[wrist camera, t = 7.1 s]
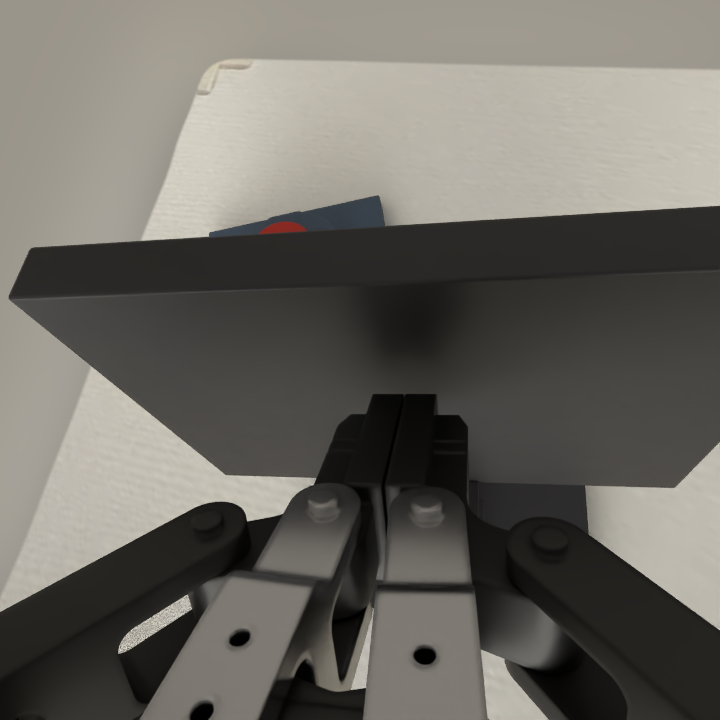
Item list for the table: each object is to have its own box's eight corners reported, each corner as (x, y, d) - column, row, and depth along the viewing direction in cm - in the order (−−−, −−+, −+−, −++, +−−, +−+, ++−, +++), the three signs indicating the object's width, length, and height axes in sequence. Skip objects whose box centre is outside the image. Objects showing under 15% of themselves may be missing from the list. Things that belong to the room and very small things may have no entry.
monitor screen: (678, 548, 19) (947, 365, 8) (223, 527, 22) (-30, 375, 11) (662, 452, 20) (868, 189, 10) (239, 445, 24) (30, 242, 13)
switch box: (381, 206, 36) (373, 175, 33) (402, 337, 33) (395, 315, 30) (216, 242, 38) (195, 216, 35) (220, 370, 34) (197, 353, 32)
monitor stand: (590, 622, 26) (633, 641, 19) (314, 602, 29) (258, 612, 21) (575, 409, 30) (606, 355, 22) (329, 408, 32) (284, 359, 25)
